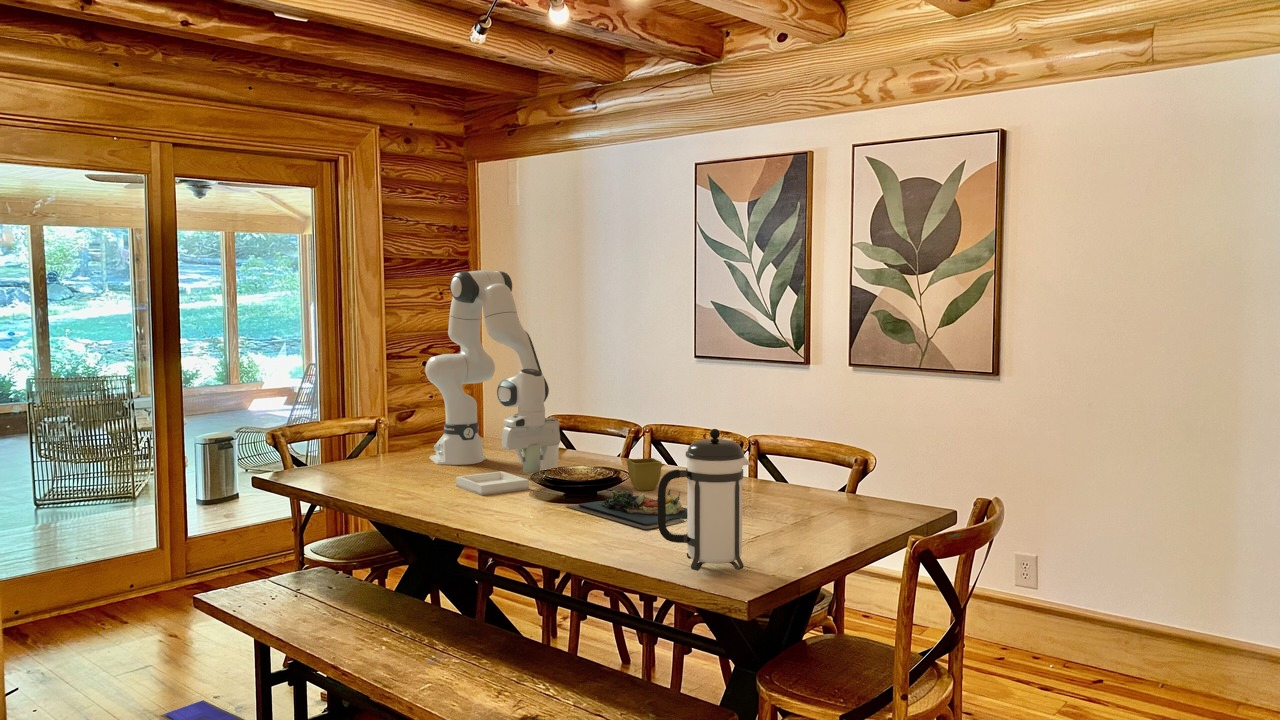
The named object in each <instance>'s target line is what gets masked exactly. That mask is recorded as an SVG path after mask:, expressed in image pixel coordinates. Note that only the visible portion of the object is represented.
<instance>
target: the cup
mask: <svg viewBox="0 0 1280 720" xmlns="http://www.w3.org/2000/svg"><path fill="white" fill-rule="evenodd" d="M522 456H524V457H525V462H522V472H523V473H526V474H535V473H539V472H541V471H540V444H534V445H528V448H525V449H522Z"/></svg>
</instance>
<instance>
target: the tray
mask: <svg viewBox="0 0 1280 720" xmlns="http://www.w3.org/2000/svg"><path fill="white" fill-rule="evenodd" d="M455 486H456V487H458V488H460V489H463V490H466V491H467V492H468V491H469V492H471V493H474V494H476V495H479V496H489V495H490V496H491V495H495V494H504V493H512V492H518V491H520V492H521V491H528V490H530V487H529V479H527V478H525V477H521V476H517V475H515V474H511V473H509V472H506V471H502V470H501V471H493V472H483V473H476V474H467V475H460V476H455Z"/></svg>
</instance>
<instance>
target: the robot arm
mask: <svg viewBox="0 0 1280 720" xmlns="http://www.w3.org/2000/svg"><path fill="white" fill-rule="evenodd" d="M449 284H450V285H449V289H450V293H451V296H452V297H451V302H450V309H449V318H448V330H447V335H448V337H449V339H450V340H451V342H453V343H455V344H457V345H458V346H459V347H460V352H459V353H443V354H438V355H435V356H431V357H429V359H428V360H427V362H426V364H425V369H424V372H425V375H426V378H427V380H428V381H429V382H430V383H431V384H432V385H434V386H435V387H436V388H437V389H438V390H439V392H440V394H441V396H442V399H443V402H444V409H445V410H444V411H445V423H444V424H443V425H444V426H443V434H442V436H441V437H440V438H439V440H437V442H436V444H433V450H434V452H435V454H433V455H430V456H429V459H430V460H431V461H432V462H433V463H435V464H436V465H438V466H439V465H449V466H450V465H452V466H453V465H454V466H457V465H458V466H459V465H461V466H462V465H464V466H465V465H474V464H479V463H481V462H483V461H486V460H487V456H484V450H483V438H482V437H481V435H480V434H479V429H480V426H479V422H478V403H477V401H476V399H475V397H473V396H471V395H469V394H467V393H466V392H465V391H464V387H463V385H469V384H471V385H472V384H481V383H483V382H487V381H490V380H491V379H492V378H493V376H495V375H494V374H495V371H496V365H495V364H496V363H495V361H494V359H493V357H492V356H490V355H489V354H488V353H487V351H486V350H485V349H484V346H483V345H482V344H483V343H482V342H481V341H482V340H481V325H482V311H483V316H484V317H483V318H484V323H485V324H484V325H485V327H486V331H487V333H488V335H489V337H490V338H491V339H492V340H494V341H495V342H497V343H499V344H501V345H504V346H507V347H508V348H510V349H512V350H513V351H515V353H517V355H518V357H519V361H520V363H521V366H522V369H520V370H519V371H518V372H517V374H515V375H513V376H510V377H508V378H505V379H502V380H501V381H500V382H499V384H498V385H497V390H496V394H497V399H498V402H499V403H500V404H501V405H503V406H504V407H506V408H507V407H508V408H509V407H510V408H515V407H516V408H517V413H515V414H513V415H510V416H508V417H505V418H504V419H503V425H504V427H503V429H502V432H501V447H502V448H503V450H507V451H512V450H515V453H516V455H517V456H518V462H519V463H520V464H521V463H522V464H523V462H525V457H524V456H523V449H525V448H528V445H534V444H540V449H542V450H541V452H540V460H544V455H545V453H546V451H547V446H554V445H560V443H561V435H560V434H561V433H560V421H559V419H558V418H556V417H554V416H552V417H546V408H545V402H546V400H547V399H548V396H549V393H550V388H549V383H548V381H547V379H546V378H545V376H544V374H543V371H542V368H541V365H540V361H539V360H538V357H537V353H536V350H535V346H534V344H533V342H532V339H531V337H530V334H529V332H528V331H526V330H525V329H524V328H523V327H524V326H522V324H521V322H520V320H519V315H518V311H517V305H516V302H515V299H514V296H513V294H512V291H513V281H512V279H511V277H510V275H509V274H508V273H506V272H504V271H501V270H488V269H486V270H485V269H480V270H472V271H466V270H465V271H460V272H456V273H455V274H453V276H452V278H451V280H450V283H449Z"/></svg>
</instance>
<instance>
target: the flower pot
mask: <svg viewBox="0 0 1280 720" xmlns="http://www.w3.org/2000/svg"><path fill="white" fill-rule="evenodd" d="M626 462H627V471H628V477H629V480H630V483H631V484H632V486H633V488H634V489H636V490H638V491H639V492H642V491H654V490H656V488H657V486H659V483H660V480H661V473H662V463H663V462H662V461H660V460H657V459H655V458H654V457H649V458H647V457H645V458H632V459H631V458H630V459H626Z"/></svg>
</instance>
